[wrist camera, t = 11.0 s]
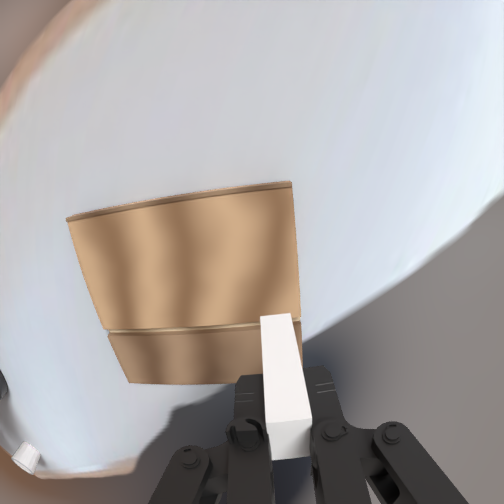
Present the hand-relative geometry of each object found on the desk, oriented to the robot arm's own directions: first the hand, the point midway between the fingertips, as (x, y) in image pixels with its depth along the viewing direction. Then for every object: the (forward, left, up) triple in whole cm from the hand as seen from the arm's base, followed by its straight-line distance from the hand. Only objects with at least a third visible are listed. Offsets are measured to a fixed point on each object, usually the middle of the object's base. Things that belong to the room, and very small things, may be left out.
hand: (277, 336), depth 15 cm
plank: (-8, 0, -11) cm, 14 cm away
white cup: (-64, -46, -12) cm, 80 cm away
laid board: (-8, -10, -12) cm, 17 cm away
